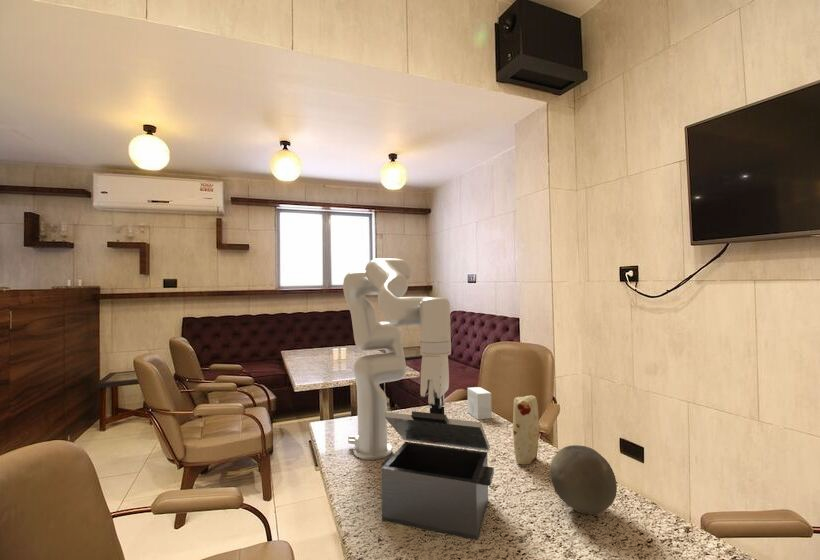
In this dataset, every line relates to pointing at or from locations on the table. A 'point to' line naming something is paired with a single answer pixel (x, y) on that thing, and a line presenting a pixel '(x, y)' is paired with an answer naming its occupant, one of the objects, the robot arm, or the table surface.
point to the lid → (439, 430)
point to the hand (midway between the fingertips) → (437, 423)
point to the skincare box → (479, 403)
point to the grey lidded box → (436, 488)
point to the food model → (525, 429)
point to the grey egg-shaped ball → (583, 479)
